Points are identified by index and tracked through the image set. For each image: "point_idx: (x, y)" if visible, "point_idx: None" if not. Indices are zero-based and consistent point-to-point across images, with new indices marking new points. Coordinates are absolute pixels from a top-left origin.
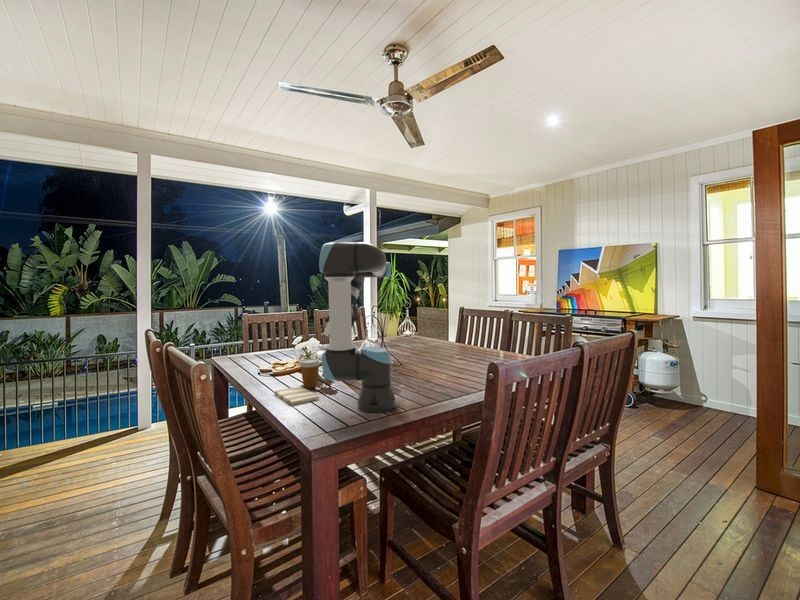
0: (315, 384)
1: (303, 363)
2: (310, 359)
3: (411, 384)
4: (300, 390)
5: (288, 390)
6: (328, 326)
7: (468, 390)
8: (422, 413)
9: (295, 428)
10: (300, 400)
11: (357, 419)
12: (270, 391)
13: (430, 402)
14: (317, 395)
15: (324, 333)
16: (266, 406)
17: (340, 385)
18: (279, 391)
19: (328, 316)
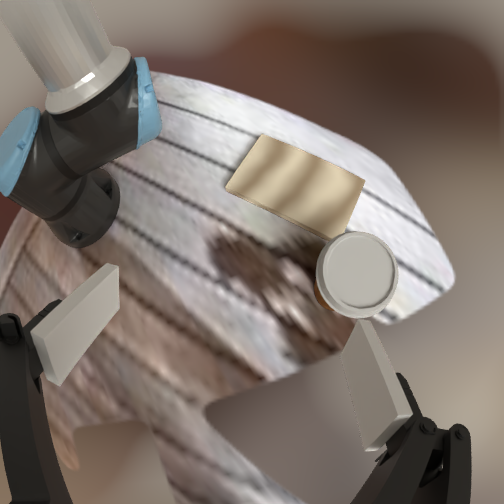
0: (314, 286)
1: (360, 232)
2: (381, 302)
3: (66, 393)
4: (307, 206)
5: (337, 194)
6: (374, 385)
7: None
8: (25, 213)
9: (185, 83)
10: (251, 149)
11: None
12: (391, 201)
13: (17, 271)
14: (231, 188)
15: (359, 319)
16: (308, 121)
17: (242, 330)
18: (351, 181)
19: (460, 475)
